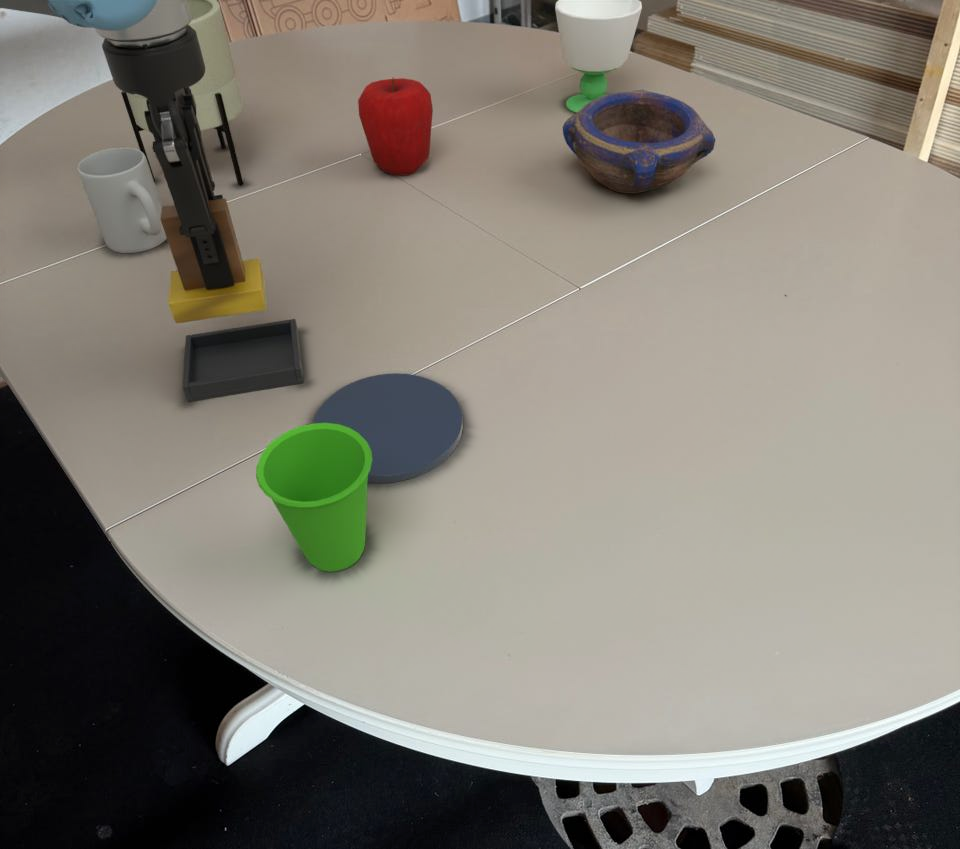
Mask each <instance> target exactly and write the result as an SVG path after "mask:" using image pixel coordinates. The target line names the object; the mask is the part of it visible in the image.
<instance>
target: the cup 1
mask: <svg viewBox="0 0 960 849" xmlns="http://www.w3.org/2000/svg"><path fill="white" fill-rule="evenodd" d="M371 464H372V452H371V449H370V447H369V445H368V443H367V441H366V440H365V439H364V438H363V437H362V436H361V435H360V434H359V433H357V432H356V431H354V430H352V429H351V428H348V427H345V426H342V425H339V424H331V423H315V424H313V423H309V424H303V425H300V426H297V427H295V428H293V429H289V430H288V431H285V432H284V433H282V434H281V435H279V436H277V437H276V438H274V439H273V440H272V441H271V442H270V443H269V444H268V445H267V446H266V447H265V449H264V450H263V452H262V453H261V454H260V456H259V459H258V462H257V465H256V468H255V469H256V472H255V477H256V481H257V484H258V487H259V489H261V491H262V492H263V494H264V495H265V496H267V497H268V498H269V499H271V501H272V502H273V504H274V506H275V508H276V509H277V511H278V513H279V514H280V517H281V518H282V519H283V522H284V523H285V525H286V526H287V528H288V530H289V532H290V533H291V535H292V537H293V538H294V540H295V541H296V544H297V546H298V547H299V549H300V550H301V552H302V554H303V556H304V557H305V559H306V561H307V562H308V563H309V564H310V565H311V566H313V567H314V568H316V569H317V570H320V571H323V572H329V573H334V572H341V571H344V570H347V569H348V568H351V567H352V566H354V565H355V564H356V563H357V562H358V560H359V559H361V556H362V554H363V552H364V550H365V546H366V534H367V532H366V531H367V530H366V529H367V505H368V504H367V503H368V502H367V501H368V482H367V480H368V473H369V471H370V468H371Z"/></svg>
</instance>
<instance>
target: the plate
mask: <svg viewBox="0 0 960 849" xmlns="http://www.w3.org/2000/svg"><path fill="white" fill-rule="evenodd" d="M463 419H464V418H463V412H462V408H461V405H460V402H458V399H457V397H455V395H454V394H453V393H452V392H451V391H450V390H448V389H447V388H446V387H445V386H444V385H442V384H440V383H439V382H437V381H435V380H432V379H430V378H427V377H424V376H421V375H415V374H411V373H383V374H376V375H371V376H367V377H364V378H360V379H358V380H354V381H353V382H350V383H348V384H346V385H344V386H343V387H341V388H339V389H337V390H336V391H335V392H333V394H331V395H330V396H329V397H328V398H327V399H326V400H325V401H324V402H323V403H322V404H321V406H320V407H319V409H318V410H317V412H316V414H315V417H314V419H313V422H312V424H315V423H331V424H339V425H342V426H345V427H348V428H351V429H352V430H354V431H356V432H357V433H359V434H360V435H361V436H362V437H363V438H364V439H365V440H366V441H367V443H368V445H369V447H370V449H371V452H372V464H371V468H370V471H369V473H368V480H367V483H370V484H390V483H397V482H398V483H399V482H403V481H406V480H410V479H413V478H416V477H419V476H422V475H424V474H426V473H428V472H430V471H432V470H434V469H435V468H437V467H438V466H440V465H441V464H442V463H444V462H445V461H446V460H447V459H448V458H449V457H451V455H452V454H453V452H454V451H455V450H456V449H457V447H458V445H459V444H460V441H461V438H462V436H463V429H464V420H463Z"/></svg>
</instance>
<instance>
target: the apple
mask: <svg viewBox="0 0 960 849" xmlns="http://www.w3.org/2000/svg"><path fill="white" fill-rule="evenodd" d="M357 104H358V106H357V107H358V116H359V119H360V123H361V127H362V129H363V132H364V135H365V139H366V141H367V144H368V148H369V151H370V156H371V157H372V160H373V163H374V164H376V165H377V166H378V167H379V168H380V169H381V170H382V171H384V172H385V173H387V174H390V175H393V176H409V175H412V174H414V173H415V172H416V171H418V170H419V169H420V168H421V167H422V165H423V164H424V163H425V162H426V161H427V160H428V159H429V156H430V151H431V137H432V127H433V126H432V124H433V114H434V112H433V111H434V108H433V102H432V96H431V93H430V91H429V90H428V89H427V87H425V85H424V84H423V83H422V82H420V81H418V80H416V79H411V78H403V77H402V78H401V77H400V78H394V77H392V78H388V79H387V78H385V79H380V80H375V81H372V82H370V83H369V84H367V85H366V86H365V87H364V89H363V90H362V93H361V94H360V96H359V97H358V99H357Z"/></svg>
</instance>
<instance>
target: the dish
mask: <svg viewBox="0 0 960 849" xmlns="http://www.w3.org/2000/svg"><path fill="white" fill-rule="evenodd" d="M298 328H299V327H298V324H297V319H296V318H291V319H284V320H283V319H282V320H278V321H271V322H264V323H259V324H251V325H244V326H238V327H233V328H225V329H219V330H214V331H207V332H200V333H194V334H193V333H192V334H187V335H185V342H184V355H183V356H184V358H183V370H182V371H183V372H182V386H181V387H182V390H183V393H184V395H185V398H186V401H187V402H188V403H190V402H197V401H202V400H209V399H214V398H221V397H227V396H233V395H238V394H239V395H240V394H245V393H250V392H257V391H263V390H269V389H275V388H282V387H286V386H287V387H288V386H292V385H293V386H294V385H299V384H300V385H301V384H304V382H305V380H304V372H303V363H302V362H303V361H302V355H301V354H302V353H301V343H300V342H301V341H300V334H299V330H298Z"/></svg>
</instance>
